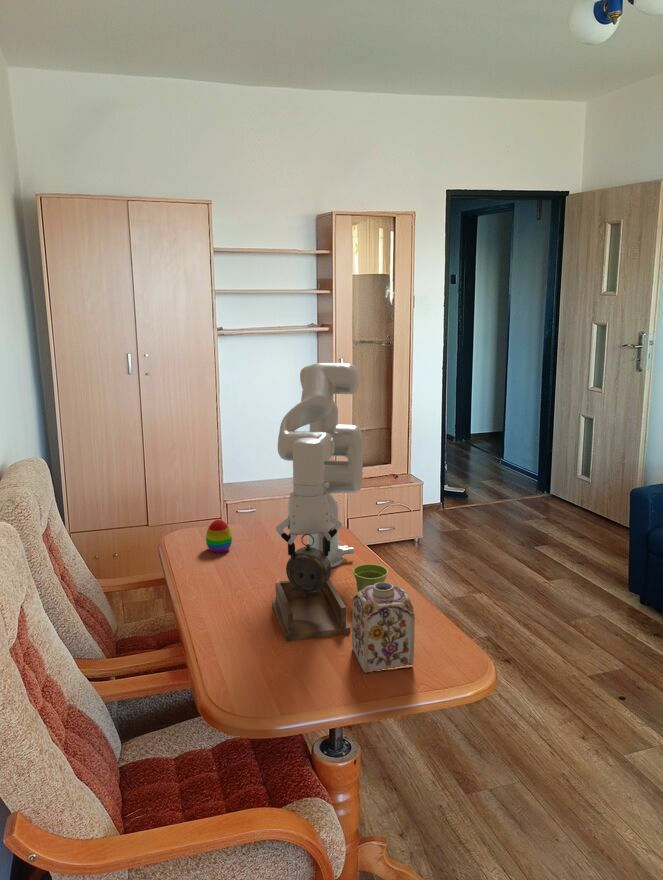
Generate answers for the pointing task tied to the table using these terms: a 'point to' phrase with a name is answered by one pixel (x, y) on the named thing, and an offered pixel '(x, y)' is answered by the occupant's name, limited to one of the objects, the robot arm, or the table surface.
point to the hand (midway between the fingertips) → (309, 555)
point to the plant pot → (369, 575)
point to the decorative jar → (383, 627)
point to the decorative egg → (218, 536)
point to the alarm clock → (308, 569)
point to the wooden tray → (309, 612)
